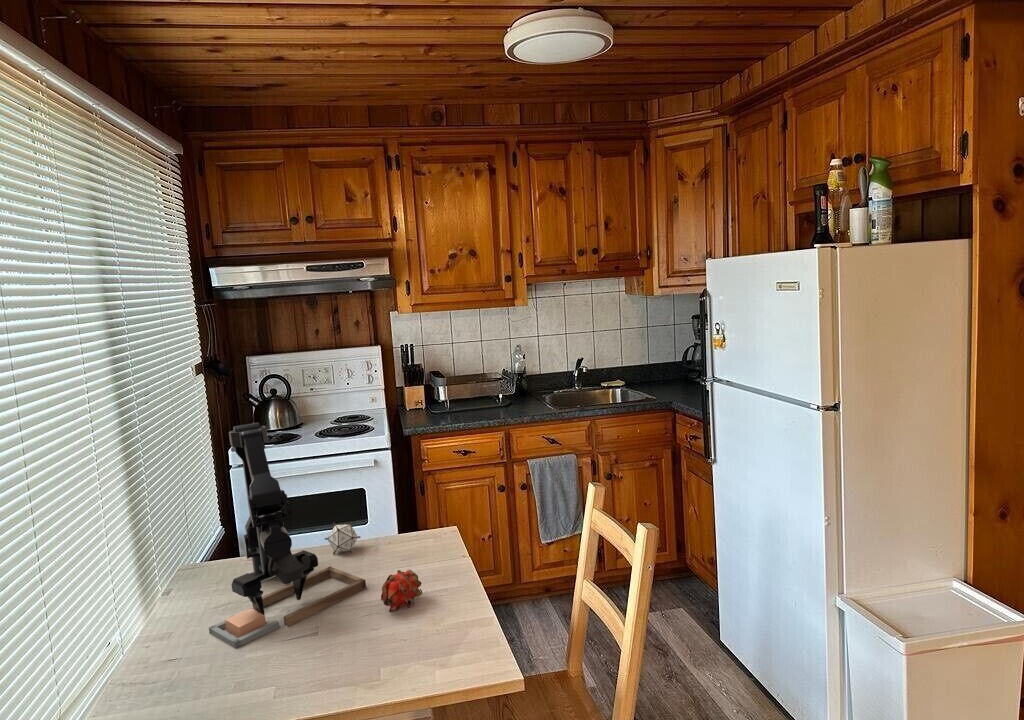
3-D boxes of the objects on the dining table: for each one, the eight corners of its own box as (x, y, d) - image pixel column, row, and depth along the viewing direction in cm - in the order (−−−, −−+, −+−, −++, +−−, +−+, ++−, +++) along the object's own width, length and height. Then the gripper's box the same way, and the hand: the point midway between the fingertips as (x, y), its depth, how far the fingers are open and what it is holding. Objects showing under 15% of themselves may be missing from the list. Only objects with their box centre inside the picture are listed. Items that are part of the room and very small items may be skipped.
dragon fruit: (421, 599, 167) (394, 631, 156) (393, 576, 168) (363, 607, 158) (435, 575, 163) (407, 607, 152) (405, 553, 164) (376, 583, 154)
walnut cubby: (253, 609, 165) (252, 601, 164) (330, 573, 181) (330, 566, 180) (287, 626, 155) (286, 618, 155) (366, 587, 171) (365, 579, 171)
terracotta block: (226, 632, 155) (225, 619, 155) (252, 620, 160) (250, 608, 160) (240, 640, 152) (239, 627, 151) (266, 628, 156) (264, 615, 156)
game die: (352, 562, 196) (370, 529, 197) (341, 564, 188) (360, 530, 189) (325, 545, 198) (344, 513, 199) (313, 546, 190) (333, 513, 191)
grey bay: (209, 632, 155) (208, 627, 155) (252, 612, 163) (251, 607, 163) (235, 648, 148) (235, 642, 148) (279, 626, 155) (279, 621, 155)
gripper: (252, 566, 148) (262, 636, 150) (328, 535, 161) (336, 600, 164) (225, 554, 155) (235, 622, 157) (300, 526, 169) (308, 588, 171)
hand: (281, 608), depth 162 cm, fingers open, 9 cm apart
